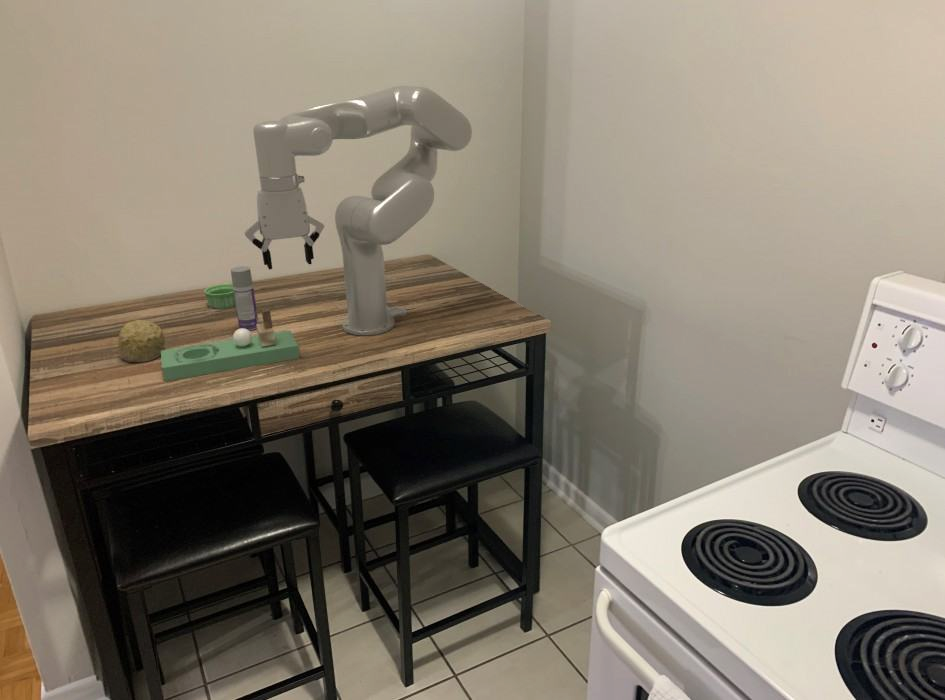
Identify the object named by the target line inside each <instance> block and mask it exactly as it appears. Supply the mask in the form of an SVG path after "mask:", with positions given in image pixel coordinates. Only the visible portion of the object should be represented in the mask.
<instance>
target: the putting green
mask: <svg viewBox="0 0 945 700" xmlns="http://www.w3.org/2000/svg"><path fill="white" fill-rule="evenodd" d="M274 335H275V343H276V345H270V346H264V347H262V346H261V343H260V341H259V338H258V334H257V335H252V341H251V343H250V344H249V345H247V346H244V347H241V346H238V345H236V344H235V342H234V340H233V338H232V339H228V340H221V341H214V342H207V343H201V344H195V345H189V346H188V345H187V346H183V347H176V348H170V349H164V350H162V351H161V355H160V358H161V372H162V376H163V380H164V382H167V381H168V382H169V381H175V380H179V379H185V378H191V377H197V376H202V375H203V376H204V375H207V374H208V375H209V374H214V373H220V372H226V371H227V372H228V371H231V370H233V371H234V370H238V369H244V368H249V367H250V368H251V367H255V366H262V365H268V364H273V363H278V362H284V361H291V360H296V359H300V352H299V345H298V343H297V340H296V338H295V337H294V335H293V333H292V331H291V329H289V330H284V331H278V332H274Z"/></svg>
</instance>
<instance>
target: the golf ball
mask: <svg viewBox="0 0 945 700" xmlns="http://www.w3.org/2000/svg"><path fill="white" fill-rule="evenodd" d="M252 336H253V334H252V333H251V331H249V330H247V329H244V328H241V329H239V328H238V329H236V330H235V331H234V333H233V336H232V339H233V340H234V342H235V344H236V345H238V346H241V347H244V346H247V345H249V344H250V343H251V341H252Z"/></svg>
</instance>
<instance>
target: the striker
mask: <svg viewBox="0 0 945 700" xmlns="http://www.w3.org/2000/svg"><path fill="white" fill-rule="evenodd" d="M261 316H262V322H261V323H259V324H256V326H257V329H256V331H257V335H258V338H259V341H260V343H261V346H262V347H264V346H270V345H276V343H275V335H274V333H275V330H274V328H273V323H272V314H271V309H270V308H269V307H267V308H262V309H261Z"/></svg>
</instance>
